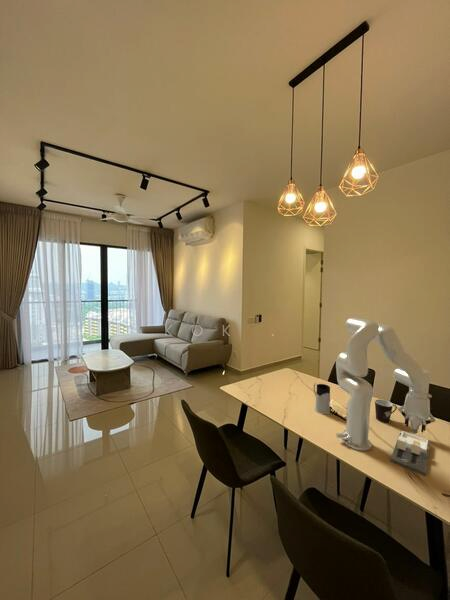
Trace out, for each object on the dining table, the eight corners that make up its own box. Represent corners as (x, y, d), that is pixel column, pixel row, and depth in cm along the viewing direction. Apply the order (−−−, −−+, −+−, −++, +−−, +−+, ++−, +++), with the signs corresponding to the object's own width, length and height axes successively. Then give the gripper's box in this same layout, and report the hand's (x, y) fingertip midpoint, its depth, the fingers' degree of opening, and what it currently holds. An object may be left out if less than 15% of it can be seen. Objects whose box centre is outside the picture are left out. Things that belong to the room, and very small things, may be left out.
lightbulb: (407, 428, 131) (409, 408, 131) (421, 433, 128) (424, 412, 127) (406, 433, 127) (408, 412, 126) (421, 438, 123) (423, 416, 122)
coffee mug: (375, 422, 140) (376, 404, 139) (372, 414, 148) (373, 398, 147) (400, 426, 136) (401, 408, 135) (395, 418, 144) (396, 401, 143)
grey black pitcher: (319, 415, 146) (321, 390, 145) (307, 403, 160) (308, 380, 159) (333, 413, 148) (334, 388, 147) (319, 402, 162) (320, 379, 161)
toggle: (405, 450, 113) (405, 442, 113) (397, 447, 115) (397, 439, 115) (406, 446, 116) (407, 438, 116) (398, 443, 118) (399, 435, 118)
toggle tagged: (419, 455, 111) (419, 445, 110) (410, 451, 113) (411, 442, 112) (420, 450, 114) (420, 441, 113) (412, 447, 116) (412, 438, 115)
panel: (425, 476, 101) (425, 472, 101) (390, 461, 109) (390, 458, 109) (430, 445, 120) (430, 442, 120) (400, 434, 128) (400, 432, 128)
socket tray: (426, 453, 113) (426, 450, 113) (398, 443, 120) (399, 440, 119) (427, 442, 120) (428, 439, 120) (402, 433, 127) (402, 430, 127)
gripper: (440, 397, 123) (437, 433, 124) (398, 386, 134) (395, 419, 136) (440, 402, 117) (436, 439, 118) (396, 390, 129) (393, 424, 130)
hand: (414, 428), depth 127 cm, fingers closed on lightbulb, 5 cm apart
